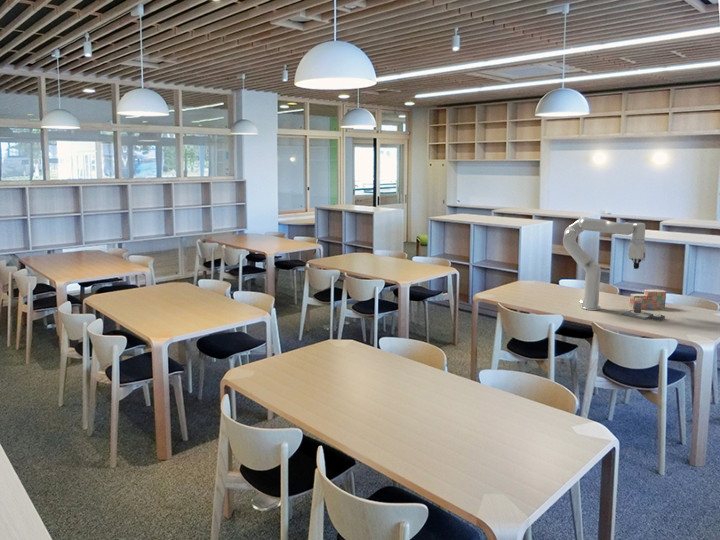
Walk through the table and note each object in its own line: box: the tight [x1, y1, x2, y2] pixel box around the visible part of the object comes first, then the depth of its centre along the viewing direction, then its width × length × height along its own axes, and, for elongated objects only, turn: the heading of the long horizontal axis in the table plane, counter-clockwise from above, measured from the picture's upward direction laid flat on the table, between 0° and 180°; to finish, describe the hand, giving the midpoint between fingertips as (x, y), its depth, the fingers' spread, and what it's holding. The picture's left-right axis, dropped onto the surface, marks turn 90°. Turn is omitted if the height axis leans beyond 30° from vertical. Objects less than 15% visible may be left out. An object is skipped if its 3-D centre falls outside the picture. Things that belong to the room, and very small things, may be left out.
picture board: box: [620, 309, 653, 320], centre depth 391 cm, size 17×14×1 cm
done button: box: [652, 312, 662, 317], centre depth 380 cm, size 5×5×2 cm
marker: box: [633, 298, 642, 313], centre depth 393 cm, size 5×5×9 cm
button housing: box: [648, 313, 666, 321], centre depth 380 cm, size 7×7×2 cm
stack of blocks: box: [629, 289, 667, 310], centre depth 408 cm, size 21×6×12 cm, turn 86°
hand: (636, 268), depth 397 cm, fingers closed
